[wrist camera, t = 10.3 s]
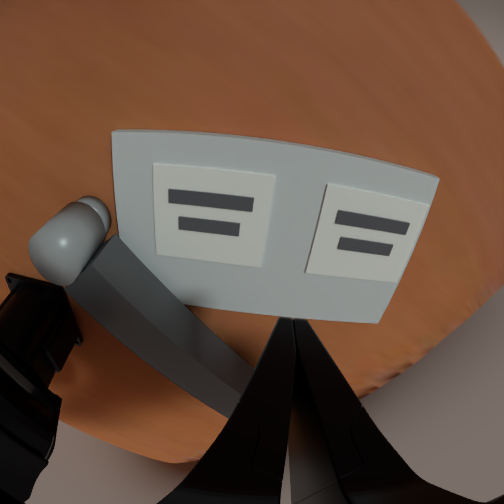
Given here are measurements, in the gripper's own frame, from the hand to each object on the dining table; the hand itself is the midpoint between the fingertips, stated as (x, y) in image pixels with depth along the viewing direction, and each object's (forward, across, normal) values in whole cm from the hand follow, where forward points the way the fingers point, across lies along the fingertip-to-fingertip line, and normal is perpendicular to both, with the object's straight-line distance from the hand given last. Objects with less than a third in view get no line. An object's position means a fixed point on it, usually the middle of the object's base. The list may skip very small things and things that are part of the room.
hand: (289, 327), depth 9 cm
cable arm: (+6, +5, +8) cm, 11 cm away
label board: (+7, +2, +1) cm, 8 cm away
